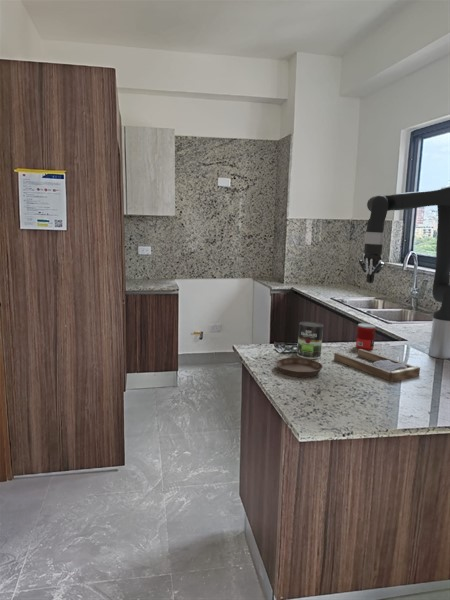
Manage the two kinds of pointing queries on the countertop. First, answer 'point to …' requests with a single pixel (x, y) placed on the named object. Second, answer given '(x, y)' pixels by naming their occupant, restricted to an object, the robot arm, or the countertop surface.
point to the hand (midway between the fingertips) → (369, 282)
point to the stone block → (389, 365)
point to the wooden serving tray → (377, 371)
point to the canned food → (365, 336)
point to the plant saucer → (299, 367)
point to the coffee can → (310, 340)
